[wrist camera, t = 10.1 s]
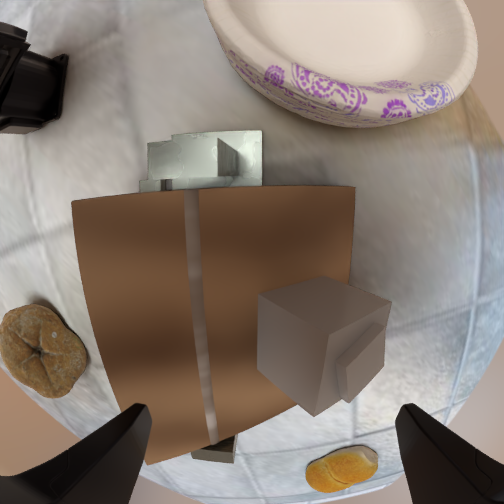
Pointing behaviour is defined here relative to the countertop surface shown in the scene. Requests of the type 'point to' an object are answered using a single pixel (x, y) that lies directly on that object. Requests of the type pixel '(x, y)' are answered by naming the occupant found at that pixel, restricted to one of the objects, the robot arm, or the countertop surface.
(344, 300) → the gray block
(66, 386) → the fossil
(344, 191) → the trapdoor
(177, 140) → the trapdoor frame
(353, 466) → the bread roll
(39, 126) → the robot arm
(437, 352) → the countertop surface
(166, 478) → the countertop surface
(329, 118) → the paper bowls
